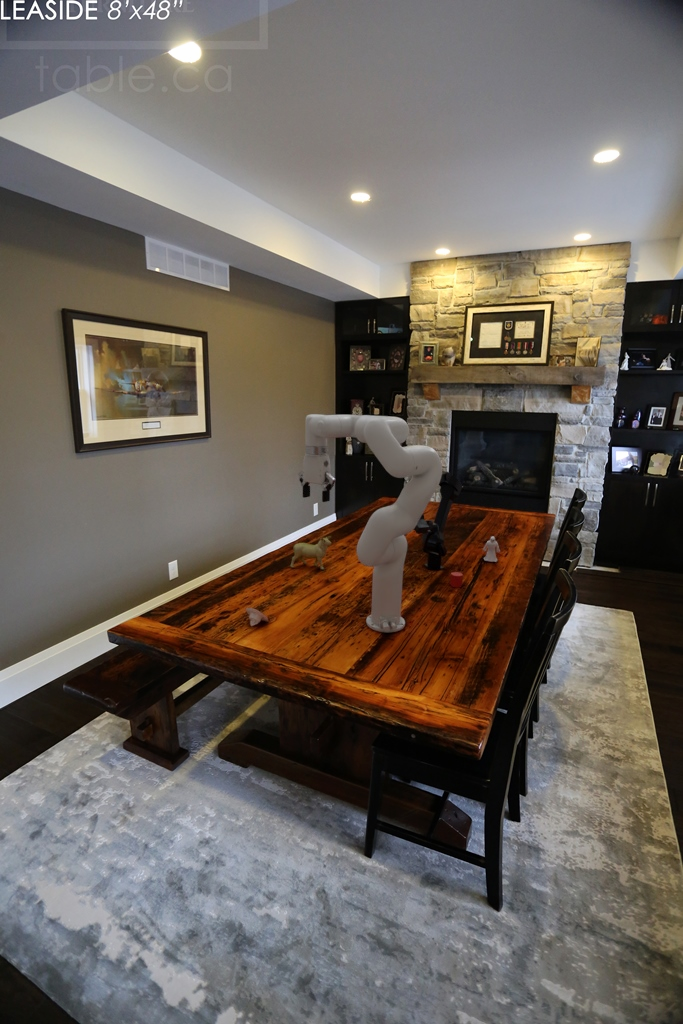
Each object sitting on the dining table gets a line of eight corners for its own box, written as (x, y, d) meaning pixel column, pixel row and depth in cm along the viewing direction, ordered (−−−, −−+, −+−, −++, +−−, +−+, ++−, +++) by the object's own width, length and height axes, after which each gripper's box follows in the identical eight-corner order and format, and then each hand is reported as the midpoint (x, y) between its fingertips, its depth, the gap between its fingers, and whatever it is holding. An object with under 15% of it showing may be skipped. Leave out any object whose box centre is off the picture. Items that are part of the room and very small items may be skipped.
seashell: (251, 634, 162) (235, 615, 161) (262, 623, 165) (246, 604, 164) (262, 630, 156) (245, 610, 155) (273, 618, 159) (257, 599, 158)
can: (456, 582, 199) (457, 571, 198) (464, 586, 195) (465, 575, 194) (447, 584, 197) (448, 572, 196) (455, 588, 193) (455, 576, 192)
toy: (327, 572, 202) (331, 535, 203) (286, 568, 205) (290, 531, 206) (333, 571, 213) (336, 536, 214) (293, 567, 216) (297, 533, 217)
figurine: (481, 562, 222) (483, 536, 219) (482, 556, 230) (484, 531, 227) (499, 564, 220) (501, 538, 217) (499, 558, 228) (501, 533, 225)
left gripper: (342, 452, 169) (341, 501, 174) (306, 447, 181) (306, 494, 185) (327, 454, 164) (326, 505, 168) (291, 449, 175) (291, 497, 179)
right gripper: (401, 517, 187) (399, 556, 191) (446, 514, 193) (443, 553, 196) (390, 510, 198) (388, 547, 201) (433, 507, 203) (430, 544, 207)
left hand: (316, 499), depth 176 cm, fingers open, 9 cm apart
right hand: (413, 548), depth 201 cm, fingers open, 9 cm apart
